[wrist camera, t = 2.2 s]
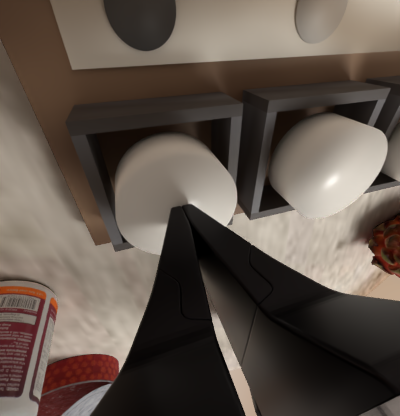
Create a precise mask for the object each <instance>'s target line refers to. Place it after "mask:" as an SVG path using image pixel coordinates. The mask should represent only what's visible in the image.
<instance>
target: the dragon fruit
mask: <svg viewBox="0 0 400 416" xmlns="http://www.w3.org/2000/svg"><path fill="white" fill-rule="evenodd" d="M373 235H374V237H372V238H371V239H370V241H369V246H368V247H369V248H370V250H371V251H372V252H373V253H374V254H375V256H373V260H372V262H371V263H372V265H375V266H377V267H379V268H380V269H382V270H383V271H385V272H386V273H388V274H391V275H393V274H395V275H396V276H398V277H399V278H400V214H398V215H397V217H396V218H395V219H394V220H389V221H386V222H384V223H382V224H380V225H379V226H377V227H376V228H375V229H374V230H373Z"/></svg>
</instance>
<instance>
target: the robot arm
mask: <svg viewBox="0 0 400 416" xmlns="http://www.w3.org/2000/svg"><path fill="white" fill-rule="evenodd" d="M204 284H205V287H206V289H207V291H208V293H209V296H210V298H211V300H212V303H213V305H214V307H215V309H216V312H217V314H218V316H219V319H220V321H221V323H222V325H223V328H224V330H225V332H226V335H227V337H228V339H229V341H230V344H231V346H232V348H233V351H234V353H235V355H236V357H237V360H238V362H239V364H240V366H241V369H242V371H243V374H244V376H245V378H246V380H247V383H248V385H249V387H250V392H251V395H252V399H253V404H254V408H255V412H256V414H257V416H400V301H395V300H388V299H380V298H373V297H365V296H358V295H350V294H345V293H341V292H337V291H334V290H332V289H329V288H327V287H325V286H323V285H321V284H319V283H317V282H315V281H313V280H312V279H310V278H308V277H306V276H304V275H302V274H301V273H299V272H297V271H295V270H293V269H291V268H290V267H288V266H286V265H284V264H282V263H281V262H279V261H277V260H275V259H274V258H272V257H270V256H269V255H267V254H266V253H264V252H263V251H261V250H259V249H258V248H256V247H255V246H254V245H251V244H250V243H249V242H247V241H246V240H244V239H243V238H242V237H240V236H239V235H237V234H236V233H234V232H233V231H231V230H230V229H228V228H227V227H225V226H224V225H222V224H221V223H219V222H218V221H216V220H215V219H213V218H212V217H210V216H209V215H207V214H206V213H205V212H203V211H202V210H200V209H199V208H197V207H196V206H194V205H193V204H186V205H182V207H181V206H176V207H172V208H171V210H170V215H169V219H168V224H167V228H166V233H165V237H164V242H163V246H162V251H161V255H160V260H159V264H158V270H157V273H156V277H155V281H154V285H153V289H152V292H151V295H150V298H149V301H148V304H147V307H146V310H145V312H144V315H143V318H142V320H141V323H140V326H139V328H138V331H137V333H136V336H135V339H134V341H133V344H132V347H131V349H130V352H129V354H128V356H127V358H126V361H125V363H124V365H123V367H122V369H121V370H120V372H119V374H118V375H117V377H116V378H115V380H114V381H113V383H112V384H111V386H110V387H109V389H108V390H107V391H106V393H105V394H104V396H103V397H102V399H101V400H100V401H99V403H98V404H97V406H96V407H95V409H94V410H93V412H92V413H91V414H90V416H246V415H245V412H244V410H243V407H242V405H241V402H240V399H239V397H238V394H237V391H236V389H235V386H234V383H233V381H232V378H231V375H230V373H229V370H228V368H227V365H226V362H225V360H224V357H223V354H222V352H221V349H220V346H219V344H218V341H217V337H216V334H215V330H214V326H213V322H212V317H211V313H210V308H209V304H208V300H207V295H206V291H205V287H204Z"/></svg>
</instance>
